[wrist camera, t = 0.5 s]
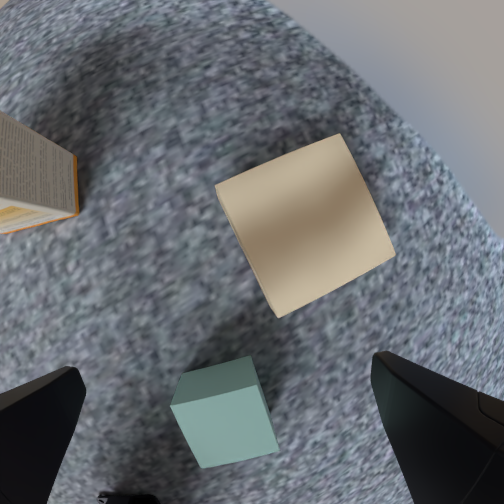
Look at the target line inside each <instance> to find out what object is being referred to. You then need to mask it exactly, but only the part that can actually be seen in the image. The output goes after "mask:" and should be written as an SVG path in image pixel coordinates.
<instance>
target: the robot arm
mask: <svg viewBox="0 0 504 504" xmlns="http://www.w3.org/2000/svg"><path fill="white" fill-rule="evenodd" d="M371 385H372V388H373V392H374V395H375V399H376V402H377V406H378V409H379V413H380V417H381V420H382V423H383V426H384V429H385V432H386V434H387V436H388V439H389V441H390V443H391V446H392V448H393V451H394V453H395V456H396V458H397V461H398V463H399V466H400V468H401V471H402V473H403V476H404V478H405V481H406V483H407V486H408V489H409V491H410V494H411V496H412V499H413V502H414V504H504V401H502V400H500V399H497V398H494V397H492V396H489V395H487V394H485V393H482V392H480V391H479V392H477V390H475V389H473V388H470V387H468V386H466V385H463V384H461V383H459V382H456V381H454V380H452V379H449V378H447V377H445V376H443V375H440V374H438V373H436V372H434V371H431V370H429V369H427V368H425V367H422V366H420V365H418V364H416V363H413V362H411V361H409V360H407V359H405V358H402V357H400V356H398V355H396V354H394V353H391V352H389V351H382V352H377V353H374V355H373V357H372V367H371ZM85 396H86V387H85V385H84V382H83V380H82V377H81V375H80V373H79V370H78V369H77V368H76V367H70V366H65V367H63V368H60V369H58V370H56V371H53V372H51V373H49V374H46V375H44V376H42V377H39V378H37V379H35V380H32V381H30V382H28V383H25V384H23V385H21V386H18V387H16V388H14V389H11V390H9V391H6V392H4V393H2V394H0V504H47V501H48V498H49V495H50V493H51V490H52V487H53V484H54V481H55V479H56V476H57V473H58V471H59V468H60V466H61V463H62V460H63V458H64V455H65V453H66V450H67V448H68V445H69V443H70V441H71V438H72V436H73V433H74V431H75V428H76V425H77V421H78V418H79V415H80V412H81V409H82V405H83V402H84V399H85ZM150 499H151V500H150ZM97 501H98V503H99V504H160V502H159V501H158V500H157V498H156V497H155V496H153V495H135V496H98V497H97Z"/></svg>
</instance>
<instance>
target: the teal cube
mask: <svg viewBox="0 0 504 504" xmlns="http://www.w3.org/2000/svg"><path fill="white" fill-rule="evenodd" d="M170 407H171V409H172V411H173V413H174V415H175V418H176V420H177V422H178V424H179V426H180V428H181V430H182V432H183V434H184V436H185V438H186V440H187V442H188V444H189V446H190V448H191V450H192V452H193V454H194V456H195V458H196V460H197V462H198V464H199V465H200V467H201V469H203V468H208V467H214V466H219V465H224V464H229V463H234V462H238V461H242V460H247V459H251V458H255V457H259V456H263V455H267V454H270V453H274V452H277V451H280V449H279V445H278V441H277V438H276V434H275V430H274V426H273V423H272V419H271V415H270V412H269V409H268V406H267V403H266V400H265V397H264V394H263V391H262V388H261V385H260V382H259V379H258V376H257V373H256V370H255V367H254V364H253V361H252V358H251V355H249V356H246V357H243V358H239V359H236V360H232V361H228V362H225V363H221V364H217V365H213V366H210V367H206V368H202V369H198V370H194V371H190V372H186V373H182V375H181V377H180V380H179V383H178V385H177V388H176V391H175V394H174V396H173V399H172V402H171V405H170Z"/></svg>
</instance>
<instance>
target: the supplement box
mask: <svg viewBox="0 0 504 504" xmlns="http://www.w3.org/2000/svg"><path fill="white" fill-rule="evenodd" d="M78 215H79V204H78V181H77V156H75V155H74V154H72V153H71V152H69V151H67V150H65V149H64V148H62V147H60V146H59V145H57V144H56V143H54V142H52V141H50V140H48V139H47V138H45V137H44V136H42V135H40V134H39V133H37V132H35V131H33V130H32V129H30V128H28V127H27V126H25V125H23V124H22V123H20V122H18V121H17V120H15V119H14V118H12V117H10V116H8V115H7V114H5V113H3V112H2V111H0V234H7V233H11V232H15V231H18V230H22V229H26V228H30V227H35V226H39V225H42V224H46V223H49V222H53V221H57V220H62V219H66V218H70V217H74V216H78Z"/></svg>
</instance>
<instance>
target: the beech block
mask: <svg viewBox="0 0 504 504" xmlns="http://www.w3.org/2000/svg"><path fill="white" fill-rule="evenodd" d="M215 189H216V193H217V197H218V199H219V201H220V203H221V205H222V208H223V210H224V212H225V214H226V216H227V218H228V220H229V222H230V224H231V227H232V229H233V231H234V233H235V235H236V237H237V239H238V241H239V243H240V245H241V248H242V250H243V252H244V254H245V256H246V258H247V260H248V262H249V264H250V266H251V268H252V271H253V273H254V275H255V277H256V279H257V281H258V283H259V285H260V287H261V289H262V291H263V293H264V296H265V298H266V300H267V302H268V304H269V306H270V307H271V309H272V310H273V312H274V313H275V315H276V316H277V317H278V318H280V317H282V316H284V315H286V314H288V313H290V312H292V311H294V310H296V309H298V308H300V307H302V306H304V305H306V304H308V303H310V302H312V301H314V300H316V299H318V298H320V297H321V296H323V295H325V294H327V293H329V292H331V291H333V290H335V289H336V288H338V287H340V286H342V285H344V284H346V283H348V282H349V281H351V280H353V279H355V278H357V277H358V276H360V275H362V274H364V273H366V272H367V271H369V270H371V269H373V268H374V267H376V266H378V265H380V264H381V263H383V262H385V261H387V260H388V259H390V258H392V257H394V256H395V255H396V254H395V251H394V248H393V246H392V243H391V241H390V238H389V236H388V234H387V231H386V229H385V226H384V224H383V222H382V219H381V217H380V215H379V212H378V210H377V208H376V205H375V203H374V201H373V199H372V197H371V194H370V192H369V190H368V188H367V186H366V184H365V181H364V179H363V177H362V175H361V173H360V171H359V169H358V167H357V165H356V163H355V161H354V159H353V157H352V155H351V153H350V151H349V149H348V147H347V145H346V144H345V142H344V140H343V138H342V136H341V134H340V133H339V134H336V135H333V136H331V137H328V138H325V139H323V140H320V141H318V142H315V143H313V144H310V145H307V146H305V147H302V148H300V149H297V150H295V151H293V152H290V153H288V154H285V155H283V156H280V157H278V158H276V159H273V160H271V161H268V162H266V163H264V164H261V165H259V166H257V167H255V168H252V169H250V170H248V171H245V172H243V173H241V174H239V175H236V176H234V177H232V178H230V179H228V180H225V181H223V182H221V183H219V184H217V185H215Z"/></svg>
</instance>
